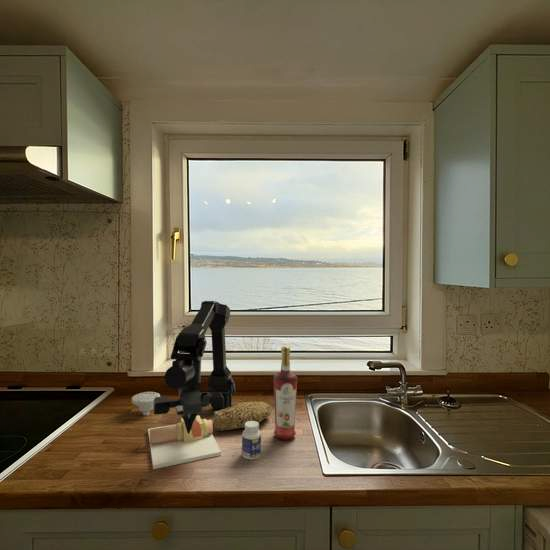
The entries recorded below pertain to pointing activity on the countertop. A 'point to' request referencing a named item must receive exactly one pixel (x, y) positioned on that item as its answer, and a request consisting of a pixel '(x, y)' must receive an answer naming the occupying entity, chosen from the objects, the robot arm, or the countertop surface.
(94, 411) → the countertop surface
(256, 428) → the pill bottle
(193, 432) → the valve lever
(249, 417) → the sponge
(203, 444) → the valve board
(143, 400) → the showerhead
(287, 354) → the liquor
